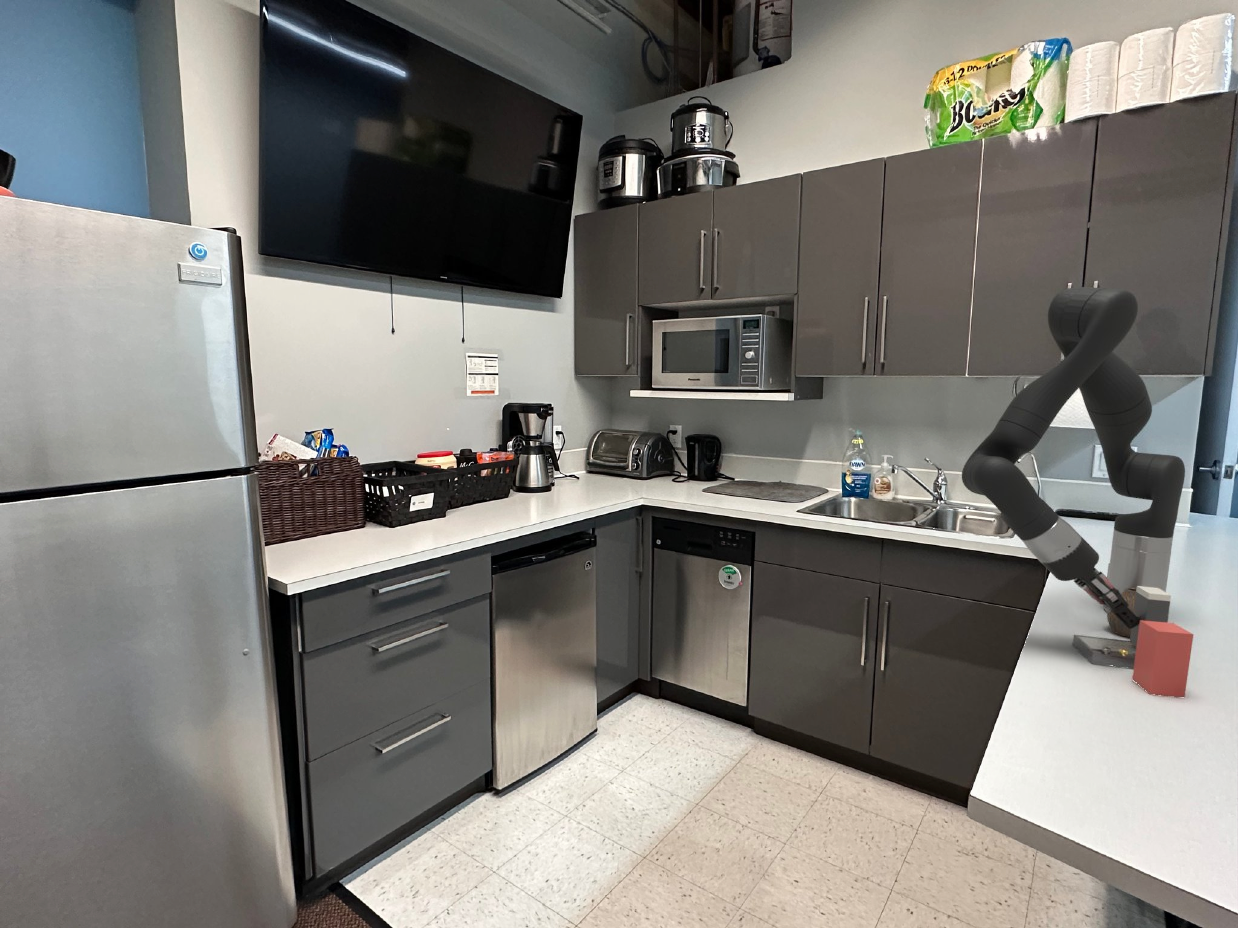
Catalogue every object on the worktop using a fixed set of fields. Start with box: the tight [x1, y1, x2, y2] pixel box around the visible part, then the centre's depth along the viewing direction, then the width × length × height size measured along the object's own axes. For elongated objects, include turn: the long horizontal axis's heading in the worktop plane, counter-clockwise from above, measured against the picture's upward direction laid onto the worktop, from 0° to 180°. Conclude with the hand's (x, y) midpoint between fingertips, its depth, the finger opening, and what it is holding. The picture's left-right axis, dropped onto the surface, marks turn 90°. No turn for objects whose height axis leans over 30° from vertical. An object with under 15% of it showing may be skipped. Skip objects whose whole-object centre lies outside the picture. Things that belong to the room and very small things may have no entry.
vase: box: [1106, 588, 1136, 638], centre depth 117 cm, size 7×7×9 cm
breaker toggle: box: [1129, 586, 1172, 647], centre depth 104 cm, size 3×4×10 cm
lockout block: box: [1131, 620, 1194, 698], centre depth 95 cm, size 4×4×10 cm
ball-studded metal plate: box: [1072, 634, 1136, 669], centre depth 106 cm, size 13×8×5 cm, turn 73°
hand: (1133, 624), depth 105 cm, fingers closed
